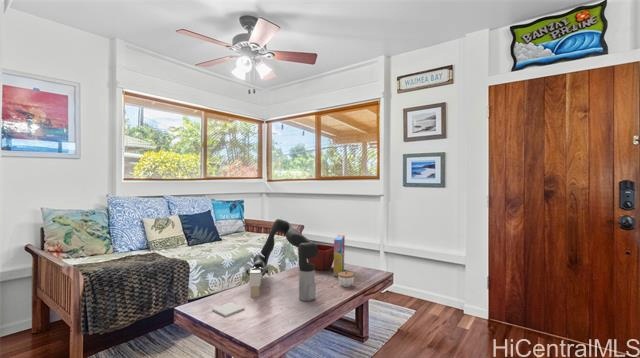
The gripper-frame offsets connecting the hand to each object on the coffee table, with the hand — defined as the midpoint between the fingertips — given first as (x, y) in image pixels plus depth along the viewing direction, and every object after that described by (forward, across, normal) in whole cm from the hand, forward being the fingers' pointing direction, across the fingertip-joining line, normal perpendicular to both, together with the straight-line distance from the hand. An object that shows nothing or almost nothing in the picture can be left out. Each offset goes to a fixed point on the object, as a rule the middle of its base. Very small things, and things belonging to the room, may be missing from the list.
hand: (256, 274), depth 194 cm
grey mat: (+27, -12, +11) cm, 31 cm away
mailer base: (+6, 0, +11) cm, 13 cm away
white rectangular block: (+6, 0, +4) cm, 8 cm away
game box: (-36, +59, +11) cm, 70 cm away
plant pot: (-49, +46, +11) cm, 69 cm away
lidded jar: (-8, +59, +11) cm, 61 cm away
